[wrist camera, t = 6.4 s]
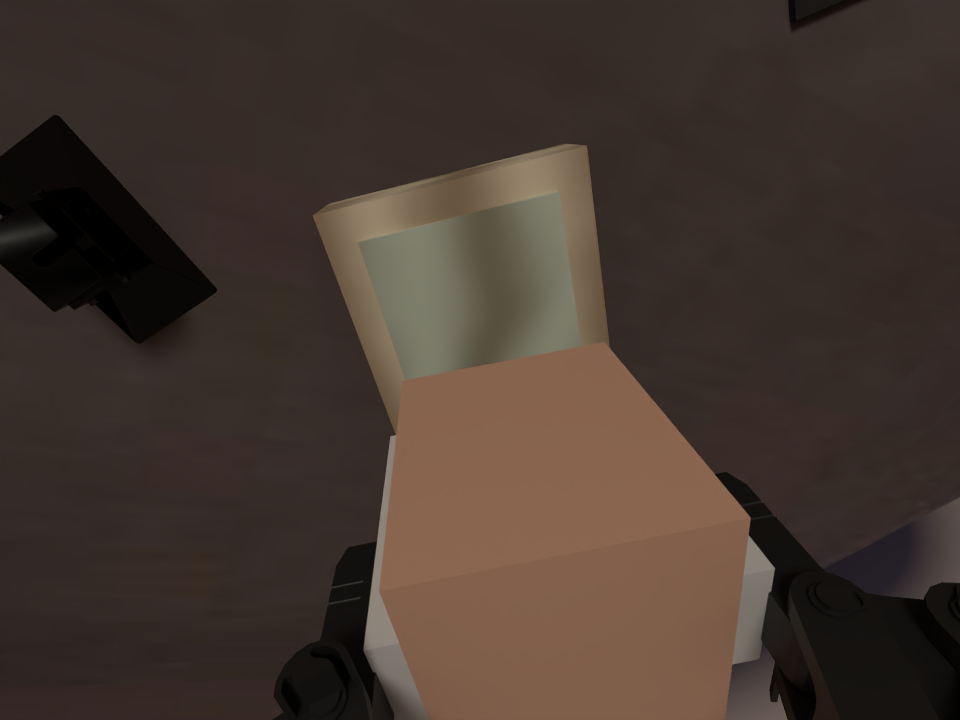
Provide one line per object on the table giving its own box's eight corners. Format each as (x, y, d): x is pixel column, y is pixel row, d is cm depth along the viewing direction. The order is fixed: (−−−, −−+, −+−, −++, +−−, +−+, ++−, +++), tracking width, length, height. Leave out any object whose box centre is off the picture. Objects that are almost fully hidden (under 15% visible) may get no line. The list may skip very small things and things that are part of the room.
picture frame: (410, 427, 30) (408, 470, 26) (330, 202, 24) (311, 216, 20) (594, 381, 30) (619, 418, 26) (562, 143, 23) (588, 145, 20)
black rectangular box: (252, 302, 26) (218, 334, 21) (150, 368, 27) (99, 411, 22) (48, 70, 20) (-48, 54, 16) (-69, 163, 21) (-187, 170, 17)
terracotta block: (443, 529, 16) (451, 777, 10) (402, 380, 14) (378, 591, 7) (611, 496, 16) (724, 721, 10) (604, 342, 14) (751, 518, 7)
